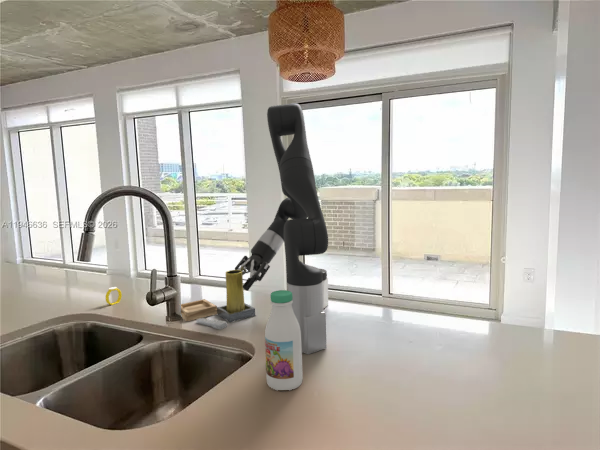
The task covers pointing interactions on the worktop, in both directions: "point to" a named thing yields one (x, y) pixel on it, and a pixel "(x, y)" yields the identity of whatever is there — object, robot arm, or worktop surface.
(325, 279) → the jar
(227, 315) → the grey square shallow tray
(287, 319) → the milk bottle
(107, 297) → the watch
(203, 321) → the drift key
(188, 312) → the wooden tray
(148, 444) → the worktop surface
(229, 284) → the vase
